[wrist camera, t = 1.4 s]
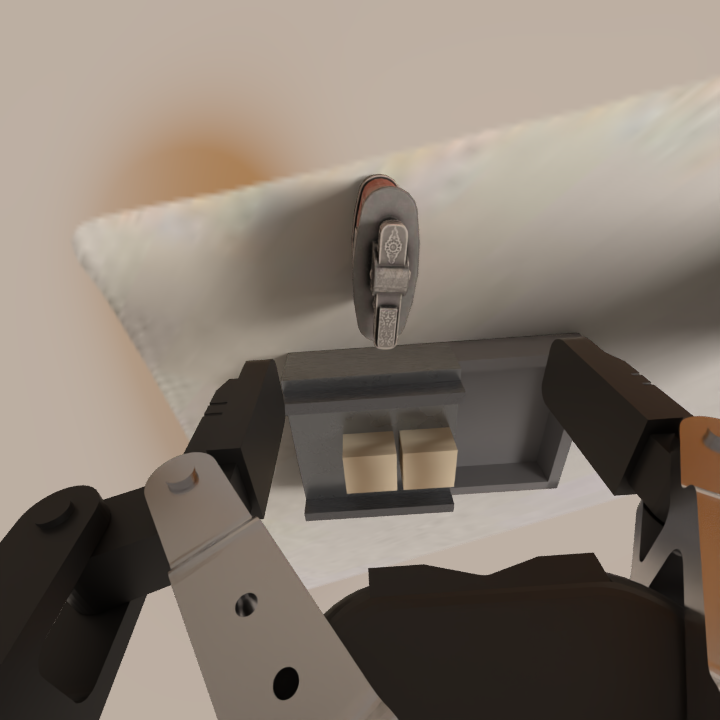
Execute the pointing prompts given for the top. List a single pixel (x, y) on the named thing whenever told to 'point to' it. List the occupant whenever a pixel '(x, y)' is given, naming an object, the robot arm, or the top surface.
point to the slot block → (367, 419)
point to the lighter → (384, 259)
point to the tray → (507, 417)
